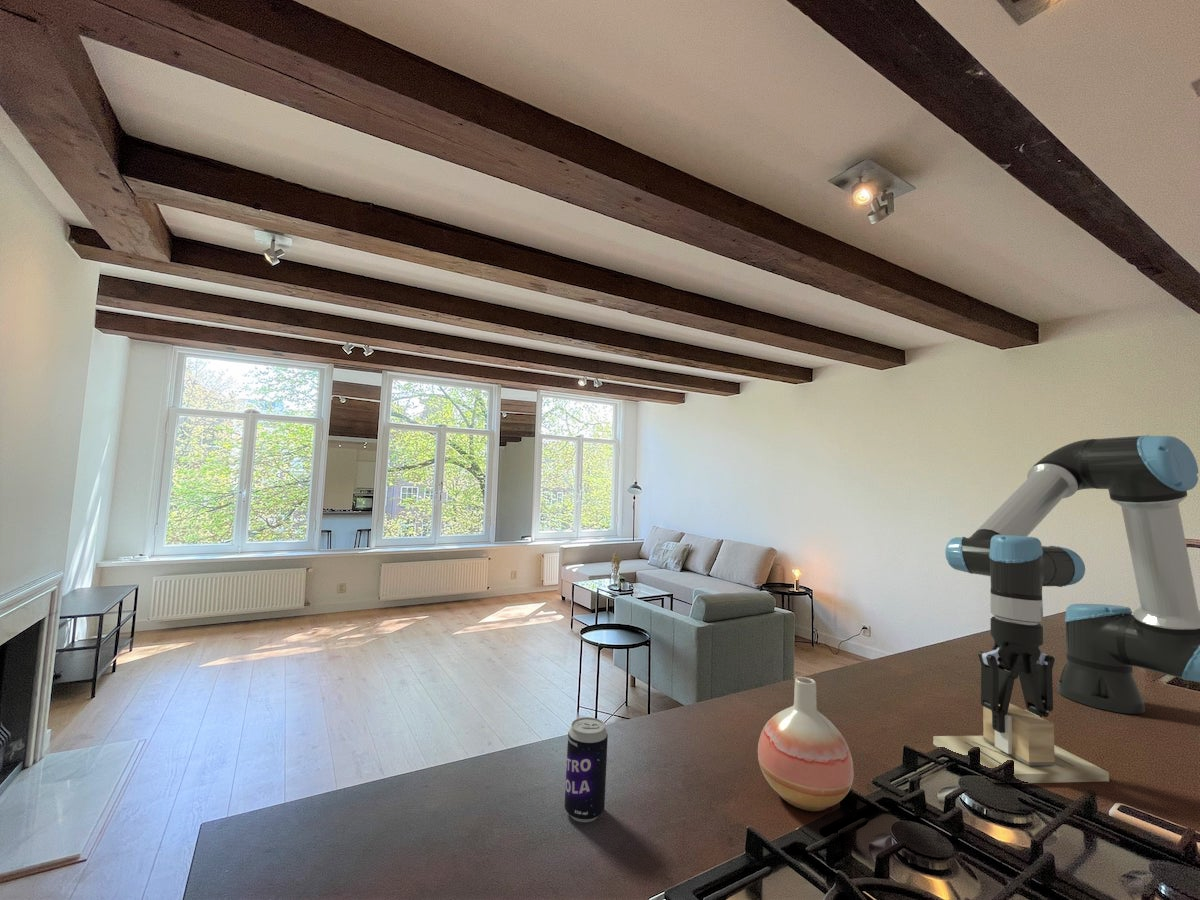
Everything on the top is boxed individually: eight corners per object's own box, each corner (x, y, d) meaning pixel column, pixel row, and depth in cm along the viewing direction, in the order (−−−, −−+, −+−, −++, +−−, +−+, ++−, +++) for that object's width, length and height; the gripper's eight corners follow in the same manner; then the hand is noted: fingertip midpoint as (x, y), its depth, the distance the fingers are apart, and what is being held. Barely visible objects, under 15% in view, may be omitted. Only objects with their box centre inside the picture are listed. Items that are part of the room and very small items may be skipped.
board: (1035, 742, 100) (1035, 735, 100) (1109, 781, 87) (1108, 772, 87) (933, 744, 97) (933, 736, 97) (993, 783, 84) (993, 774, 84)
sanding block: (983, 739, 96) (983, 701, 97) (1006, 739, 97) (1006, 701, 97) (1029, 765, 87) (1028, 723, 88) (1054, 765, 88) (1053, 723, 88)
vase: (875, 821, 73) (876, 695, 74) (794, 834, 69) (797, 701, 70) (810, 769, 86) (812, 662, 87) (739, 778, 82) (742, 666, 83)
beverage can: (563, 800, 74) (568, 715, 75) (602, 800, 75) (606, 716, 75) (564, 826, 68) (569, 734, 69) (606, 826, 69) (610, 734, 70)
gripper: (1039, 615, 99) (1040, 739, 97) (955, 613, 96) (955, 740, 95) (1080, 625, 91) (1082, 760, 89) (990, 624, 89) (991, 761, 87)
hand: (1017, 749), depth 92 cm, fingers closed on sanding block, 5 cm apart
